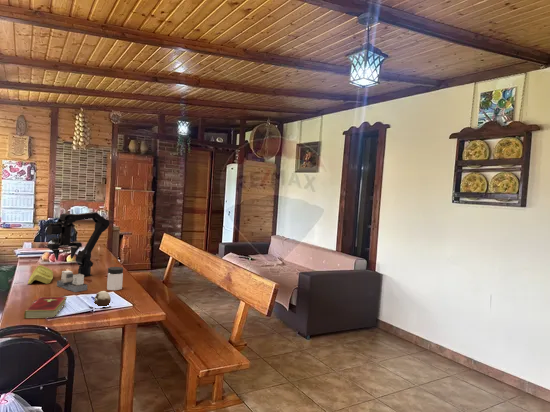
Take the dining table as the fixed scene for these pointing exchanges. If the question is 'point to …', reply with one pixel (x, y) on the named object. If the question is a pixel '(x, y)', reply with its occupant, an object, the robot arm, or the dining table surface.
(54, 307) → the hardcover book
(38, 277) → the plastic component
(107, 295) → the skull
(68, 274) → the beige rectangular block
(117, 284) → the jar
